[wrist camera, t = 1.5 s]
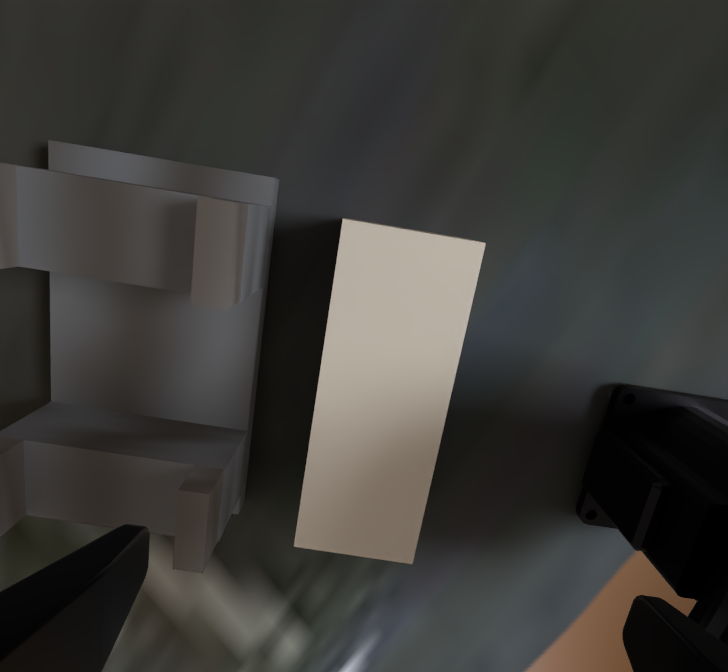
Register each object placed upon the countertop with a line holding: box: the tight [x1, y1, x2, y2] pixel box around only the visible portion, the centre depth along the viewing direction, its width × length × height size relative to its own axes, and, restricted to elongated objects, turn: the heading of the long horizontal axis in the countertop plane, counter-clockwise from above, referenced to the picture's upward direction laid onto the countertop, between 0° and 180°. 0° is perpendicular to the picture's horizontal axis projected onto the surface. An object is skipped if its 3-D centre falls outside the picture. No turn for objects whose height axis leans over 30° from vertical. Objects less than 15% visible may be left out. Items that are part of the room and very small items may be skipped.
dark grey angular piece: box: [0, 140, 279, 573], centre depth 16 cm, size 8×14×6 cm, turn 171°
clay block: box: [294, 218, 486, 564], centre depth 18 cm, size 4×12×4 cm, turn 171°
